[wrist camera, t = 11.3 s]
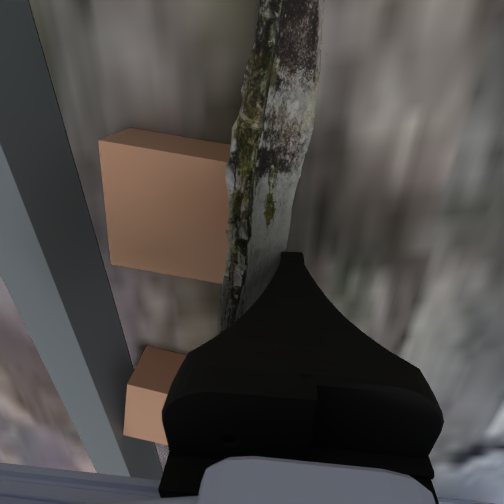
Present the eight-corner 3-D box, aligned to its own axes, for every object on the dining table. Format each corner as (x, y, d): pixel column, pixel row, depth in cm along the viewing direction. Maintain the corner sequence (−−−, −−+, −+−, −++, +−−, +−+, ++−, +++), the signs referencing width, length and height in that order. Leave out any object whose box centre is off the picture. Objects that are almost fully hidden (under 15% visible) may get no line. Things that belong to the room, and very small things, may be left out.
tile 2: (227, 364, 17) (219, 407, 15) (212, 411, 20) (203, 453, 18) (147, 344, 17) (127, 384, 15) (141, 394, 20) (123, 434, 17)
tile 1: (253, 147, 12) (245, 165, 10) (238, 251, 14) (229, 285, 12) (133, 126, 12) (98, 140, 10) (138, 233, 14) (110, 264, 12)
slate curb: (12, -52, 9) (-94, -97, 7) (167, 489, 25) (154, 537, 23) (-51, -49, 9) (-179, -92, 7) (143, 486, 26) (127, 534, 23)
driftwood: (393, -334, 6) (175, -767, 3) (542, -442, 5) (397, -1415, 2) (224, 510, 24) (164, 566, 21) (245, 543, 23) (184, 609, 20)
